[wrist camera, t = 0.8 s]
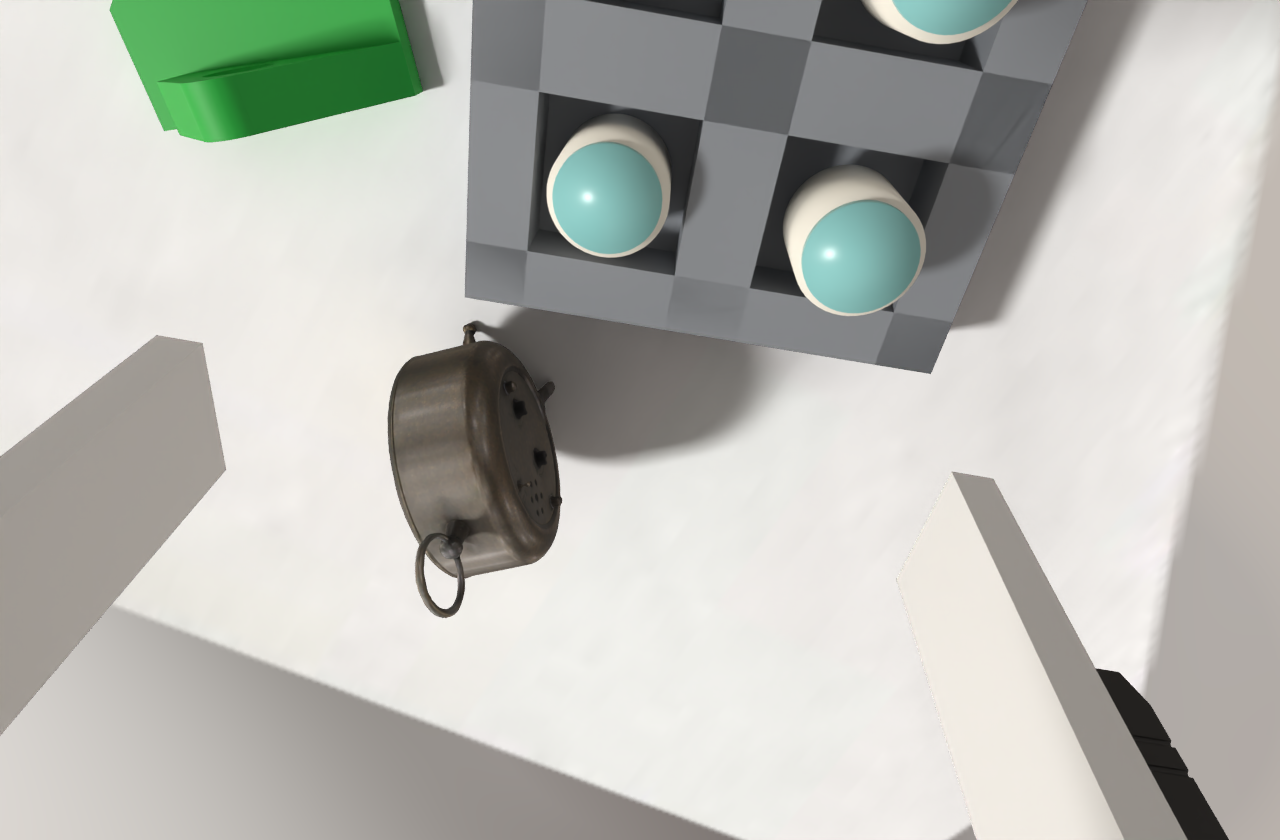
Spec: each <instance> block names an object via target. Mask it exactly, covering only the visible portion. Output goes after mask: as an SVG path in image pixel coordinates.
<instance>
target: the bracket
mask: <svg viewBox="0 0 1280 840" xmlns="http://www.w3.org/2000/svg"><path fill="white" fill-rule="evenodd" d="M110 12H111V14H112V17H113V19H114V21H115V23H116V25H117V28H118V30H119V32H120V34H121V36H122V39H123V41H124V43H125V45H126V48H127V50H128V52H129V54H130V56H131V59H132V61H133V63H134V65H135V67H136V70H137V72H138V74H139V76H140V79H141V81H142V83H143V85H144V87H145V90H146V92H147V94H148V96H149V98H150V101H151V103H152V105H153V107H154V110H155V112H156V114H157V116H158V118H159V121H160V123H161V125H162V127H163V130H164V131H167V130H174V129H177V130H178V132H179V134H180V135H181V136H185V137H189V138H193V139H196V140H200V141H204V142H219V141H226V140H232V139H237V138H242V137H247V136H251V135H255V134H259V133H263V132H268V131H272V130H276V129H280V128H284V127H288V126H292V125H296V124H300V123H304V122H309V121H313V120H317V119H321V118H325V117H329V116H333V115H337V114H341V113H346V112H350V111H354V110H358V109H362V108H366V107H370V106H374V105H378V104H382V103H387V102H391V101H395V100H399V99H403V98H407V97H411V96H415V95H417V94H419V93H421V92H423V90H422V86H421V82H420V78H419V75H418V71H417V67H416V63H415V60H414V56H413V52H412V49H411V45H410V41H409V37H408V34H407V30H406V26H405V22H404V19H403V15H402V11H401V8H400V4H399V0H113V1H112V4H111V7H110Z"/></svg>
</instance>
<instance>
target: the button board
mask: <svg viewBox="0 0 1280 840" xmlns="http://www.w3.org/2000/svg"><path fill="white" fill-rule="evenodd" d="M1087 1H1088V0H1018V1H1017V2H1016V4H1015V5H1014V6H1013V7H1012V8H1011V9H1010V11H1009V12H1008V13H1007V14H1006V15H1005V16H1004V17H1002V18H1001V19H1000V20H999V21H998V22H997V23H995V24H994V25H993V26H991V27H990V28H989V29H987V30H985V31H984V32H982V33H980V34H978V35H976V36H974V37H972V38H970V39H967V40H963V41H960V42H955V43H950V44H933V43H927V42H923V41H919V40H917V39H915V38H912V37H910V36H908V35H905V34H903V33H901V32H898V31H896V30H894V29H891V28H889V27H887V26H885V25H883V24H881V23H880V22H878V21H877V20H876V19H875V18H874V17H872V16H871V15H870V13H869V12H868V11H867V10H866V9H865V7H864V5H863V4H862V2H861V0H473V12H472V49H471V86H470V124H469V161H468V198H467V235H466V272H465V297H467V298H473V299H479V300H485V301H491V302H497V303H503V304H509V305H515V306H521V307H528V308H534V309H540V310H546V311H552V312H558V313H564V314H570V315H576V316H582V317H588V318H594V319H601V320H607V321H613V322H619V323H625V324H631V325H637V326H643V327H649V328H655V329H661V330H667V331H673V332H680V333H686V334H692V335H698V336H704V337H710V338H716V339H722V340H728V341H734V342H740V343H746V344H752V345H759V346H765V347H771V348H777V349H783V350H789V351H795V352H801V353H807V354H813V355H819V356H825V357H832V358H838V359H844V360H850V361H856V362H862V363H868V364H874V365H880V366H886V367H892V368H898V369H904V370H911V371H917V372H923V373H929V374H931V372H932V370H933V367H934V365H935V363H936V360H937V358H938V356H939V353H940V351H941V348H942V346H943V344H944V341H945V339H946V337H947V334H948V332H949V329H950V327H951V325H952V322H953V320H954V318H955V315H956V313H957V310H958V308H959V306H960V303H961V301H962V298H963V296H964V294H965V291H966V289H967V287H968V284H969V282H970V279H971V277H972V275H973V272H974V270H975V268H976V265H977V263H978V260H979V258H980V256H981V253H982V251H983V248H984V246H985V244H986V241H987V239H988V237H989V234H990V232H991V229H992V227H993V225H994V222H995V220H996V218H997V215H998V213H999V210H1000V208H1001V206H1002V203H1003V201H1004V199H1005V196H1006V194H1007V191H1008V189H1009V187H1010V184H1011V182H1012V179H1013V177H1014V175H1015V172H1016V170H1017V168H1018V165H1019V163H1020V160H1021V158H1022V156H1023V153H1024V151H1025V149H1026V146H1027V144H1028V141H1029V139H1030V137H1031V134H1032V132H1033V130H1034V127H1035V125H1036V122H1037V120H1038V118H1039V115H1040V113H1041V110H1042V108H1043V106H1044V103H1045V101H1046V99H1047V96H1048V94H1049V91H1050V89H1051V87H1052V84H1053V82H1054V80H1055V77H1056V75H1057V72H1058V70H1059V68H1060V65H1061V63H1062V60H1063V58H1064V56H1065V53H1066V51H1067V49H1068V46H1069V44H1070V41H1071V39H1072V37H1073V34H1074V32H1075V30H1076V27H1077V25H1078V22H1079V20H1080V18H1081V15H1082V13H1083V11H1084V8H1085V6H1086V3H1087ZM615 113H617V114H625V115H629V116H633V117H635V118H638V119H640V120H641V121H643V122H645V123H646V124H648V125H649V126H650V127H652V128H653V129H654V130H655V131H656V132H657V133H658V135H659V136H660V137H661V139H662V140H663V142H664V144H665V145H666V148H667V150H668V152H669V156H670V159H671V166H672V179H671V192H670V203H669V210H668V215H667V218H666V220H665V223H664V225H663V227H662V229H661V230H660V232H659V233H658V235H657V236H656V237H655V238H654V239H653V240H652V241H651V242H650V243H649V244H648V245H647V246H645V247H644V248H642V249H641V250H639V251H637V252H635V253H632V254H630V255H626V256H622V257H611V258H607V257H599V256H595V255H591V254H589V253H586V252H584V251H582V250H580V249H578V248H577V247H575V246H574V245H572V244H571V243H570V242H569V241H568V240H566V239H565V237H564V236H563V235H562V234H561V233H560V232H559V230H558V229H557V227H556V226H555V224H554V222H553V220H552V218H551V215H550V212H549V208H548V204H547V183H548V178H549V174H550V171H551V169H552V167H553V165H554V163H555V161H556V160H557V158H558V156H559V155H560V153H561V152H562V150H563V148H564V147H565V145H566V143H567V142H568V140H569V139H570V137H571V135H572V134H573V133H574V132H575V131H576V130H577V129H578V128H579V127H580V126H581V125H582V124H584V123H585V122H587V121H588V120H590V119H592V118H594V117H597V116H600V115H604V114H615ZM849 164H852V165H860V166H864V167H868V168H870V169H873V170H875V171H877V172H878V173H880V174H881V175H883V176H884V177H885V178H886V179H887V180H888V181H889V182H890V183H891V184H892V186H893V187H894V188H895V189H896V190H897V192H898V193H899V194H900V195H901V196H902V198H903V199H904V200H905V201H906V202H907V204H908V205H909V206H910V207H911V208H912V210H913V211H914V212H915V213H916V215H917V216H918V218H919V219H920V222H921V224H922V226H923V229H924V233H925V238H926V253H925V259H924V263H923V266H922V269H921V271H920V273H919V275H918V277H917V278H916V280H915V282H914V283H913V285H912V286H911V287H910V288H909V290H908V291H907V292H906V293H905V294H904V295H903V296H901V297H900V298H899V299H898V300H897V301H895V302H894V303H892V304H891V305H889V306H887V307H885V308H883V309H881V310H879V311H876V312H873V313H870V314H866V315H859V316H843V315H837V314H832V313H830V312H827V311H824V310H823V309H821V308H819V307H817V306H816V305H814V304H813V303H812V302H811V301H810V300H809V299H808V298H807V297H806V296H805V295H804V293H803V292H802V291H801V289H800V287H799V285H798V283H797V280H796V277H795V274H794V271H793V268H792V265H791V262H790V258H789V255H788V252H787V249H786V246H785V242H784V237H783V220H784V215H785V211H786V208H787V206H788V204H789V202H790V200H791V198H792V196H793V195H794V193H795V192H796V191H797V190H798V188H799V187H800V186H801V185H802V184H803V183H804V182H805V181H806V180H808V179H809V178H810V177H812V176H813V175H815V174H817V173H818V172H820V171H822V170H825V169H827V168H830V167H834V166H838V165H849Z"/></svg>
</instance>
